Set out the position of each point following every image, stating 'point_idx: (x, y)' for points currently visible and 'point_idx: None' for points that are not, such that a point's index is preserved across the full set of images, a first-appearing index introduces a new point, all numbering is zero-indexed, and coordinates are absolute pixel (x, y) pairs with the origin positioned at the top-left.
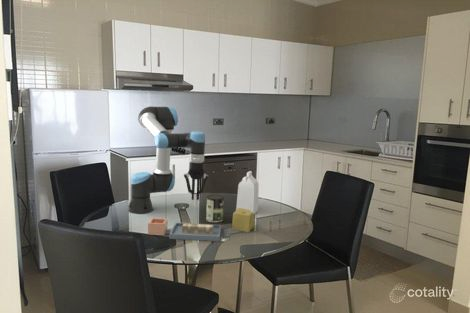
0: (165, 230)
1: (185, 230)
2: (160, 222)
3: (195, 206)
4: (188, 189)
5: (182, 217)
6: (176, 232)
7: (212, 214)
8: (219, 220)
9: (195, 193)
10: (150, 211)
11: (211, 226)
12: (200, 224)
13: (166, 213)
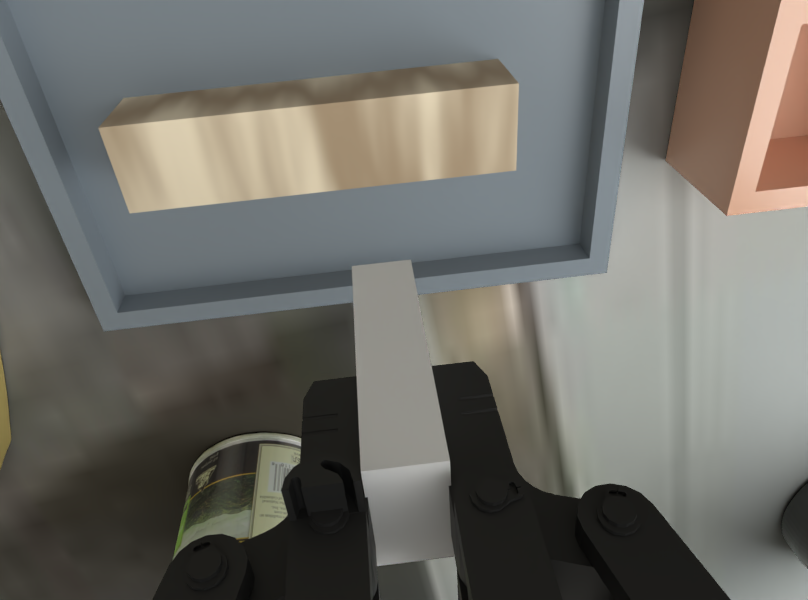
0: (701, 52)
1: (462, 69)
2: (789, 165)
3: (366, 264)
4: (685, 580)
5: (543, 457)
6: (565, 41)
7: (261, 492)
8: (203, 462)
9: (417, 535)
10: (804, 489)
11: (129, 158)
12: (296, 194)
13: (677, 493)
